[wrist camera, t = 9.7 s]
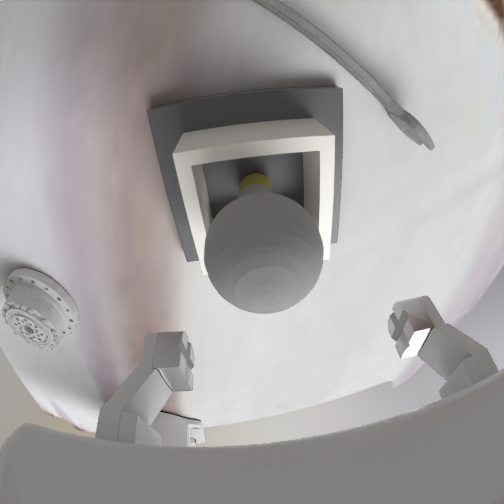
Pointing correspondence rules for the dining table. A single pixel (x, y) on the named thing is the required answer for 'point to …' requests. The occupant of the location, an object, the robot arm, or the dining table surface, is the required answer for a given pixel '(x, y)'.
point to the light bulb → (263, 249)
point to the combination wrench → (352, 71)
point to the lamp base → (250, 155)
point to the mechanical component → (38, 308)
